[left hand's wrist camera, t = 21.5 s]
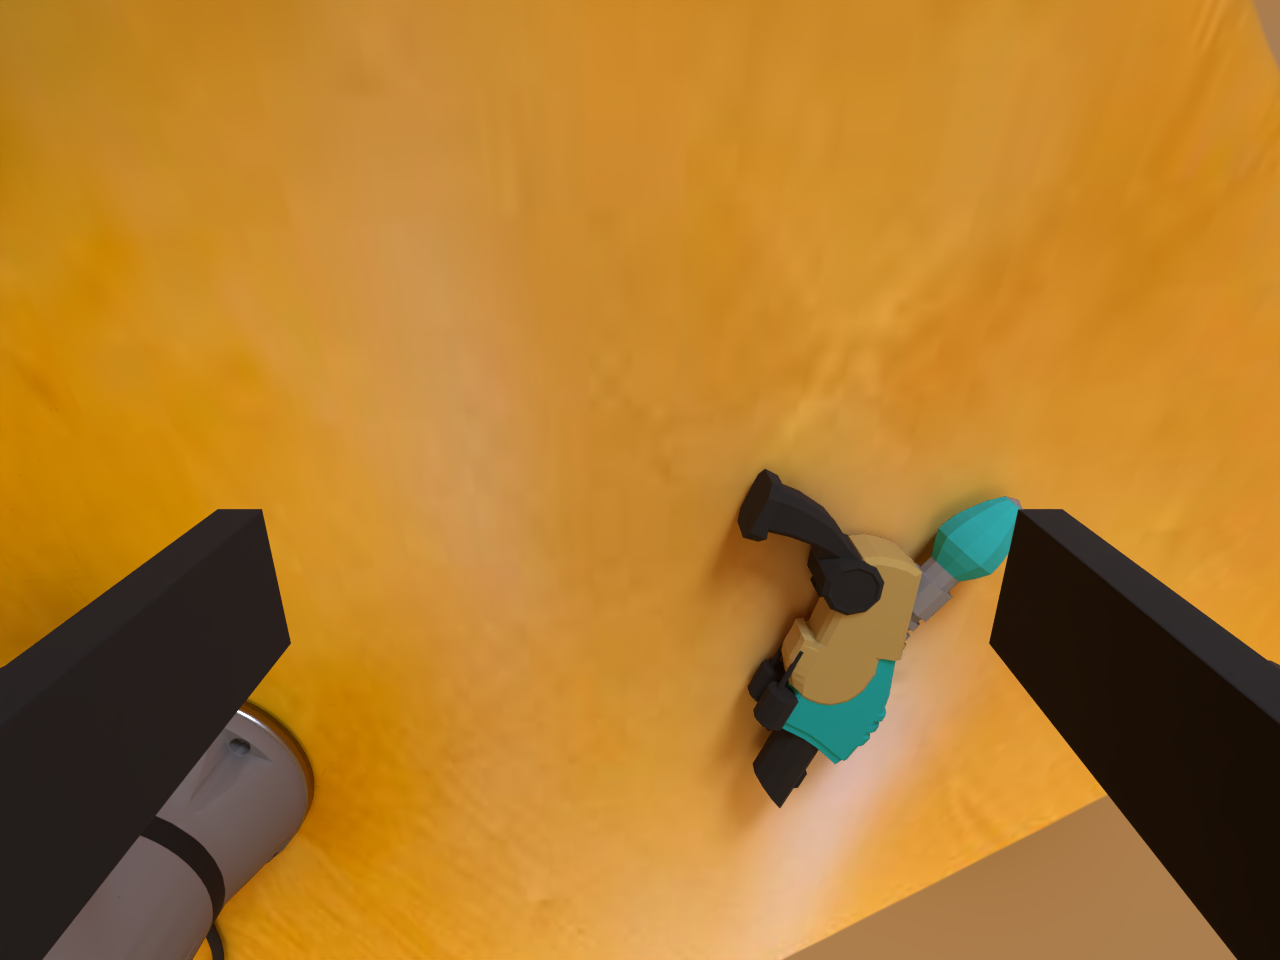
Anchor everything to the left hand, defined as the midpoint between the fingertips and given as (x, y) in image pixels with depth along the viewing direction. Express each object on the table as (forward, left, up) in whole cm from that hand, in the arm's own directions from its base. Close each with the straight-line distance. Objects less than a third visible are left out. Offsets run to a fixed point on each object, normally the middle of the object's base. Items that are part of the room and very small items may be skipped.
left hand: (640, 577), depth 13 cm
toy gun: (-19, -11, -29) cm, 36 cm away
